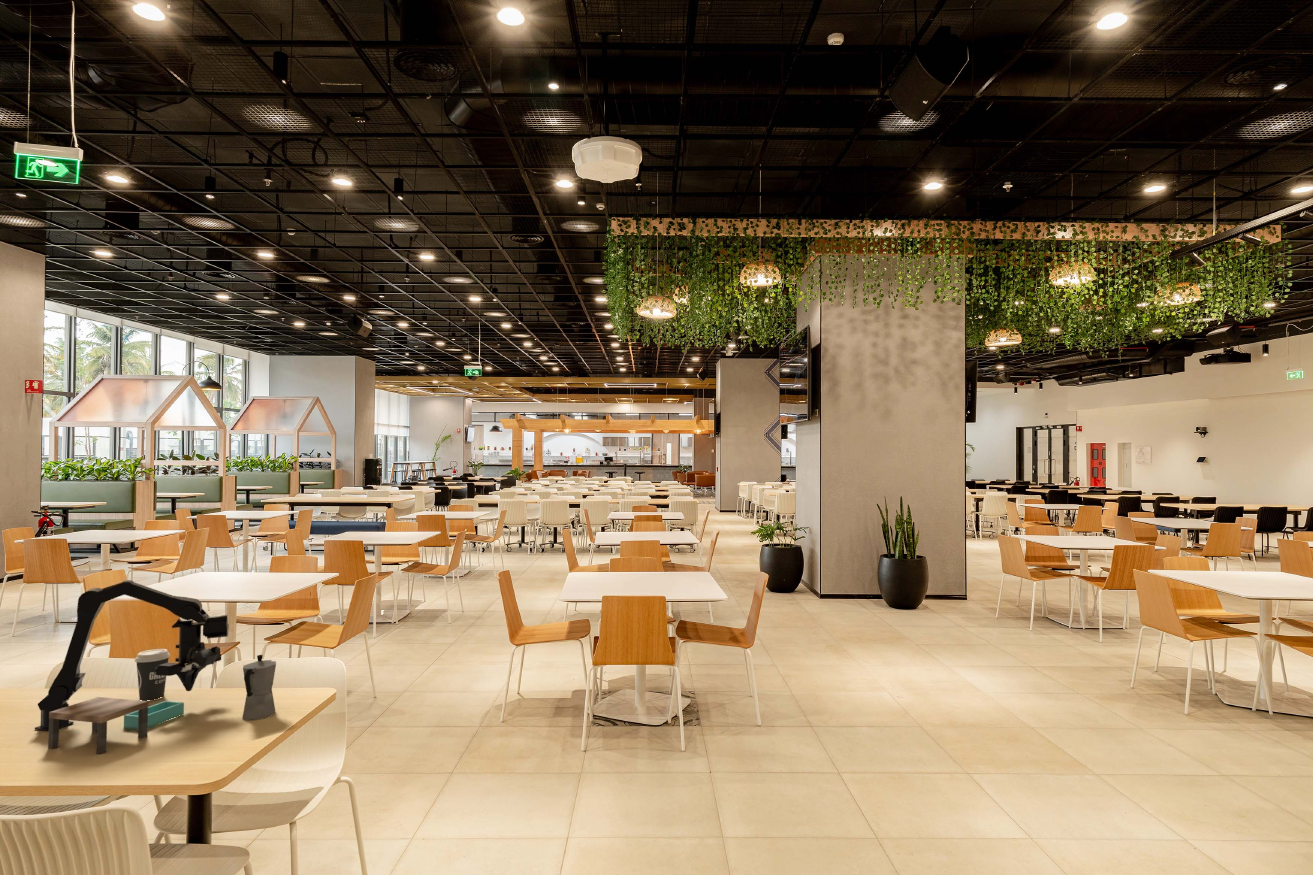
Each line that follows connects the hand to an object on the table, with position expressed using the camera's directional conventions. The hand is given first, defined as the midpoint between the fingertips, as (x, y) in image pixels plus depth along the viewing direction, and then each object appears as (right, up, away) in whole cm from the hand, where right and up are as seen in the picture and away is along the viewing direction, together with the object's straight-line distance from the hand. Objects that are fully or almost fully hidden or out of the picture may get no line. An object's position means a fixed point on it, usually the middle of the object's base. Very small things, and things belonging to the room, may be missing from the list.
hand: (189, 690), depth 221 cm
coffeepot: (+26, -5, -8) cm, 28 cm away
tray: (-3, -5, -11) cm, 13 cm away
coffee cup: (-19, -6, +10) cm, 22 cm away
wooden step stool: (-7, -4, -27) cm, 28 cm away
